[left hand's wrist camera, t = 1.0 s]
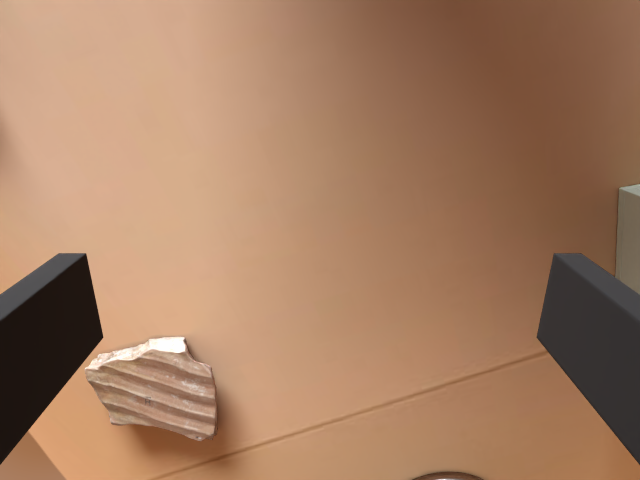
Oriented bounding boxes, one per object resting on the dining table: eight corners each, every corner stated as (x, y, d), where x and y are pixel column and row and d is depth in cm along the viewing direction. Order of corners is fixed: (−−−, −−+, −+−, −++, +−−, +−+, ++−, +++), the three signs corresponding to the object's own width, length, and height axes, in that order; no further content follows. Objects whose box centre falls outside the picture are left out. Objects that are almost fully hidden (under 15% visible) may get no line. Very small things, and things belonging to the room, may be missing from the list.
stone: (220, 338, 45) (214, 353, 43) (221, 429, 49) (215, 447, 47) (92, 330, 45) (79, 345, 42) (104, 422, 49) (93, 440, 47)
